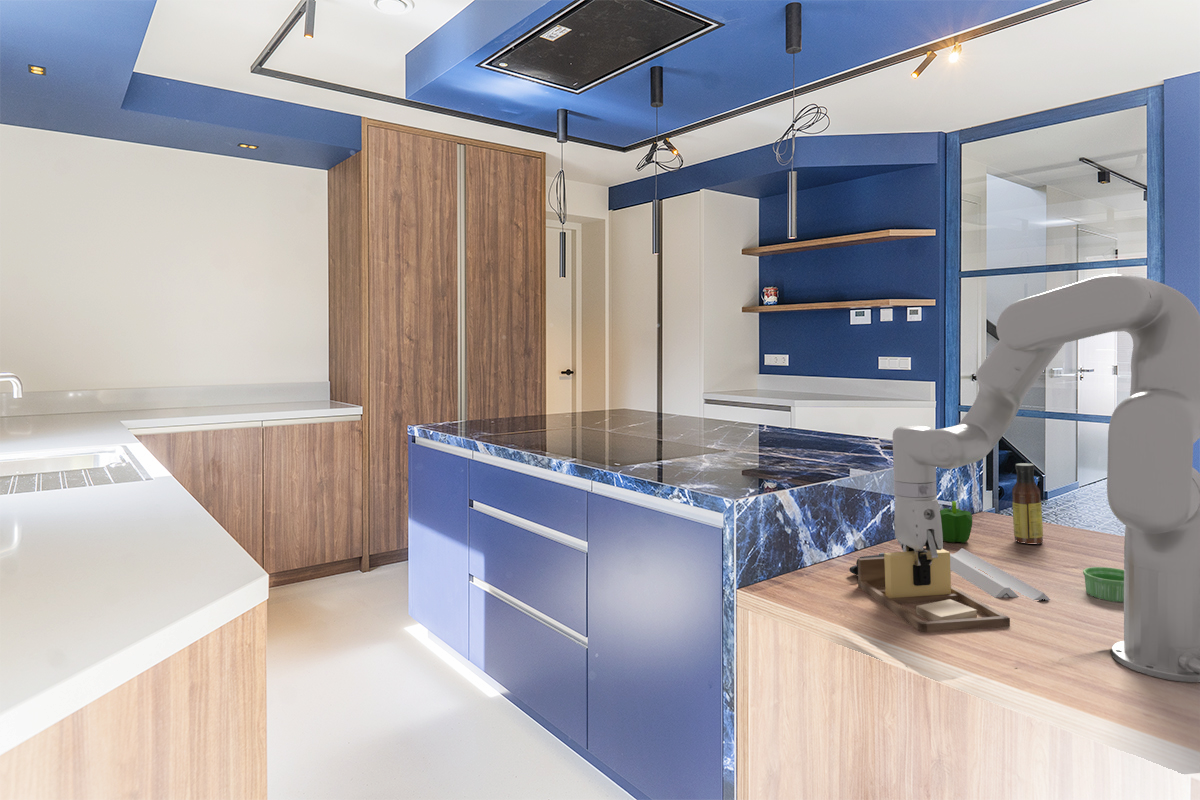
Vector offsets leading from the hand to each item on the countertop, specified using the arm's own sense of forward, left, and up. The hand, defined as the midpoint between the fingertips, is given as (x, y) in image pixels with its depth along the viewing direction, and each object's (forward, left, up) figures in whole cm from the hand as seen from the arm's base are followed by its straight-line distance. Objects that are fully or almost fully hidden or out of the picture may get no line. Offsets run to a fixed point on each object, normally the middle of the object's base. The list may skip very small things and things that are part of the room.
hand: (917, 581), depth 133 cm
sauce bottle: (+34, -48, -5) cm, 59 cm away
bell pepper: (+39, -32, -5) cm, 51 cm away
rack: (-4, 0, -4) cm, 6 cm away
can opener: (+17, -3, -5) cm, 17 cm away
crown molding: (+13, -20, -5) cm, 24 cm away
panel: (0, 0, -3) cm, 3 cm away
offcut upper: (-10, 0, -3) cm, 10 cm away
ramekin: (-3, -38, -5) cm, 38 cm away
